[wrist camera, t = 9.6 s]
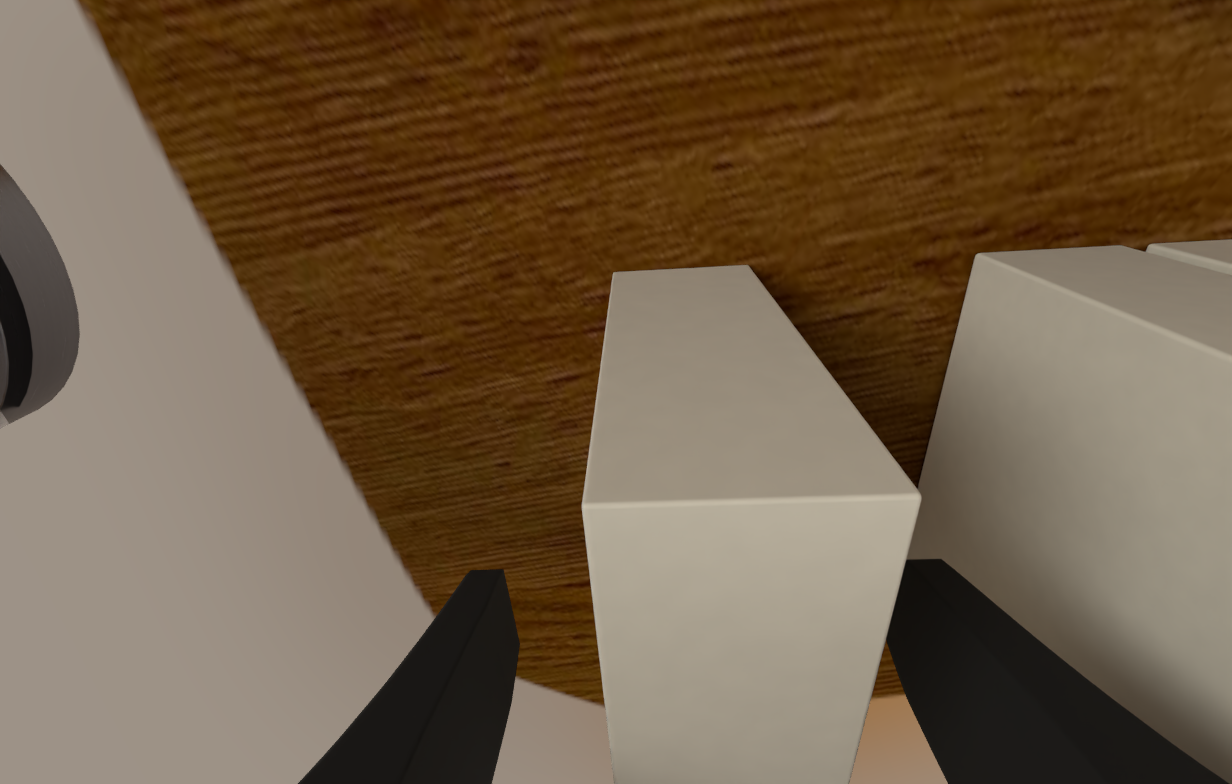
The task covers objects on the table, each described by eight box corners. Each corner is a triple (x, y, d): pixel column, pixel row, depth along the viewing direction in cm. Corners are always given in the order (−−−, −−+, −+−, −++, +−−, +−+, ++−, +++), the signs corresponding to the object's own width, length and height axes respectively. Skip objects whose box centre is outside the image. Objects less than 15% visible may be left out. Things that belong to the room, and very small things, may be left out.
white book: (633, 591, 16) (633, 952, 9) (612, 271, 12) (580, 505, 5) (731, 589, 16) (806, 954, 9) (748, 264, 12) (924, 496, 5)
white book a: (892, 586, 16) (1096, 963, 9) (974, 252, 11) (1534, 479, 4) (995, 585, 16) (1287, 967, 9) (1122, 244, 11) (1958, 468, 4)
